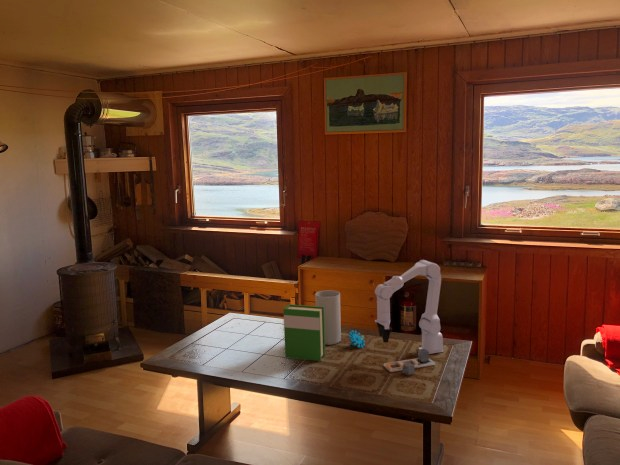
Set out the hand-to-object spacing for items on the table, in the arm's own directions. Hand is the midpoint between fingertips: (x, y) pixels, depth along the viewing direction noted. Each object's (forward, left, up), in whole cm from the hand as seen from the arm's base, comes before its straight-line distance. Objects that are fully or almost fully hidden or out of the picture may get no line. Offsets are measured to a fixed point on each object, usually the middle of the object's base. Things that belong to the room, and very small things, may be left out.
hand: (383, 339), depth 236 cm
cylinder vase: (+16, -32, -10) cm, 37 cm away
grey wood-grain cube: (-4, +17, -10) cm, 20 cm away
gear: (+5, -20, -10) cm, 23 cm away
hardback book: (+33, -17, -10) cm, 39 cm away
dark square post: (-15, +10, -10) cm, 20 cm away
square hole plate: (-8, +10, -10) cm, 16 cm away
